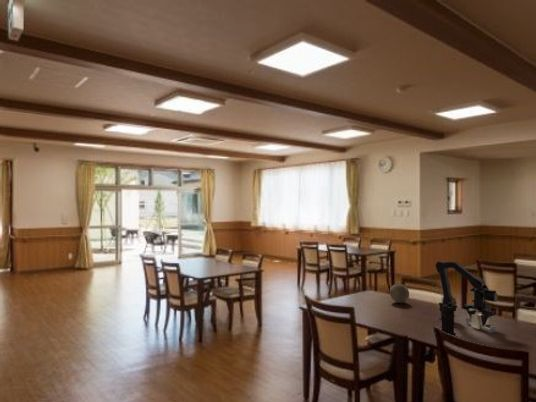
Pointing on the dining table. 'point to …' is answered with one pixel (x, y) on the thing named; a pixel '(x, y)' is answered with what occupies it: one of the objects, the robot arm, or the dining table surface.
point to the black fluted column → (448, 318)
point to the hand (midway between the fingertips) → (478, 323)
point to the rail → (491, 329)
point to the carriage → (476, 321)
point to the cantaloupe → (399, 293)
